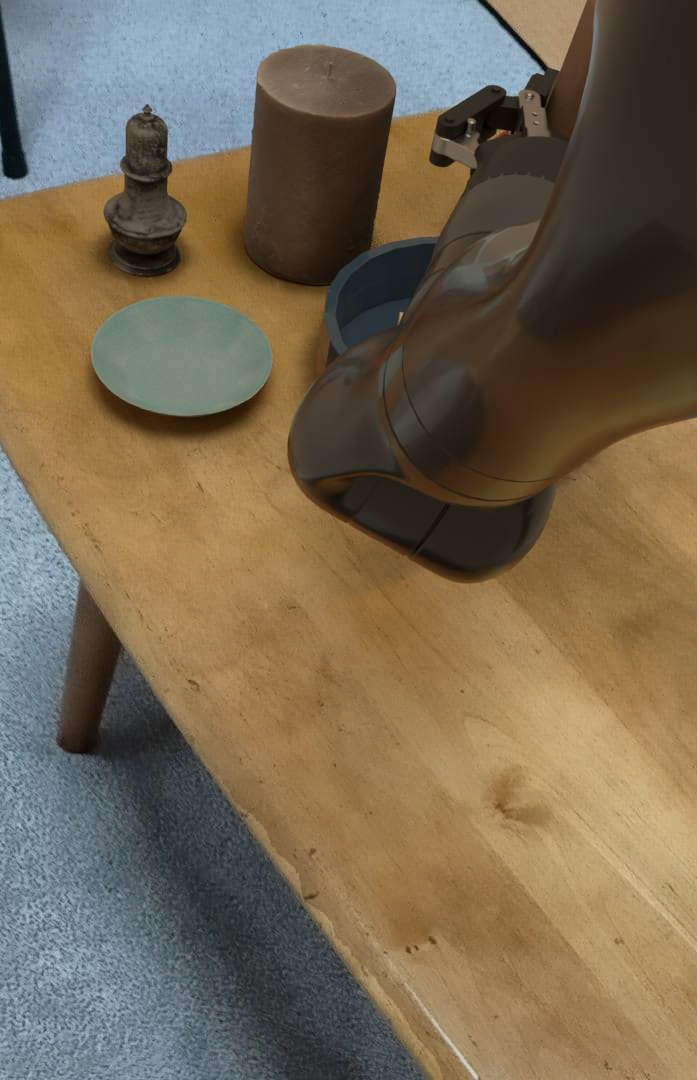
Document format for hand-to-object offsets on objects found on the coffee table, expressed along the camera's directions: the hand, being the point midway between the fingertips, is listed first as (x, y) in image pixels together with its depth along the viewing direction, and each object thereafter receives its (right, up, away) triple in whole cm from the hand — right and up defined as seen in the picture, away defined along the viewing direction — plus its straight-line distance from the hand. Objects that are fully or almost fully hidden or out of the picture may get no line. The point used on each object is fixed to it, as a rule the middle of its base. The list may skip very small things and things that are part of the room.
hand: (590, 97), depth 71 cm
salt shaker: (-29, -5, +20) cm, 35 cm away
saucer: (-25, -15, +12) cm, 31 cm away
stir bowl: (-6, -15, +15) cm, 22 cm away
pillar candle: (-17, -3, +23) cm, 29 cm away
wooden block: (-1, -8, +5) cm, 10 cm away
